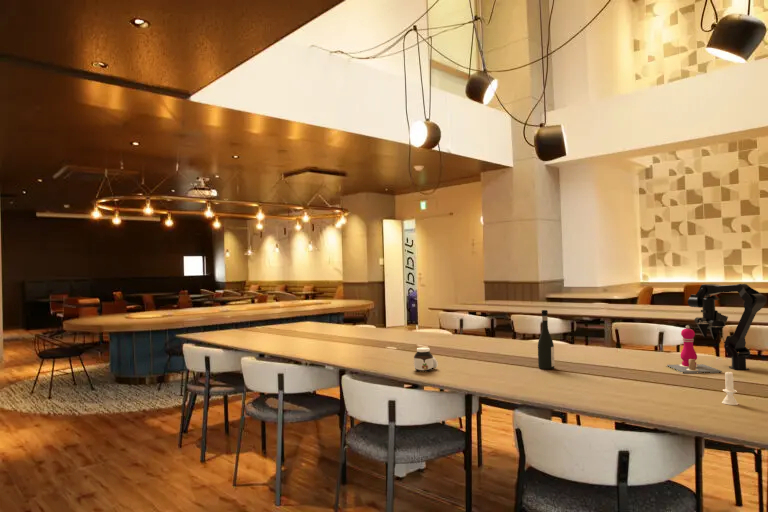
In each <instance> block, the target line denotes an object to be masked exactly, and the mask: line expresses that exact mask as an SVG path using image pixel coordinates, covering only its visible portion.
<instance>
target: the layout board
mask: <svg viewBox="0 0 768 512" xmlns="http://www.w3.org/2000/svg"><path fill="white" fill-rule="evenodd" d="M666 365H667V366H669V367H671V368H674V369H676V370H678V371H680V372H684V373H683V374H702V373H701V372H704V373H703V374H706V373H705V372H710V373H709V374H720V373H719V372H722V373H723V370H720V369H718V368H715V367H713V366H709V365H707V364H705V363H704V364H703V363H700V364H697V361H696V360H695V359H689V367H688V366H683V365H682V363H679V364H666ZM667 366H666V367H667ZM671 368H670V369H671ZM676 370H675V371H676ZM678 371H677V372H678ZM680 372H679V373H680ZM697 372H698V373H697Z"/></svg>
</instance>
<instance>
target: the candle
mask: <svg viewBox="0 0 768 512" xmlns="http://www.w3.org/2000/svg"><path fill="white" fill-rule="evenodd" d="M724 380H725V381H724V382H725V386H724V387H725V388H724V389H722V391H723V392H724V393H726V396H724V398H723V400H722V401H721V403H722V404H724V405H728V406H737V405H739V402H738V401H737V399H736V398H735V396H734V394H735V393H737V392H738V391H737V390H736V389H735V388H734V380H735V378H734V374H733V372H732V371H726V372H724Z"/></svg>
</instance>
